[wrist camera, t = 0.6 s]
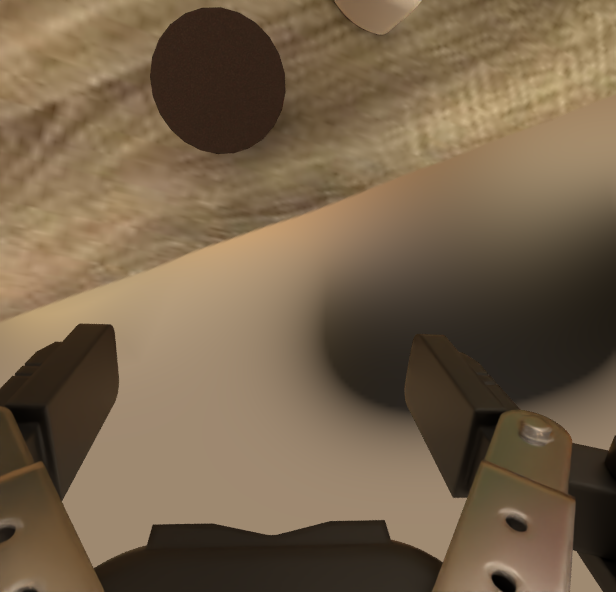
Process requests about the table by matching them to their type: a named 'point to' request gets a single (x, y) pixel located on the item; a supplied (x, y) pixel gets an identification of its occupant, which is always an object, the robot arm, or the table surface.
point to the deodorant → (217, 80)
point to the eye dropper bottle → (377, 13)
